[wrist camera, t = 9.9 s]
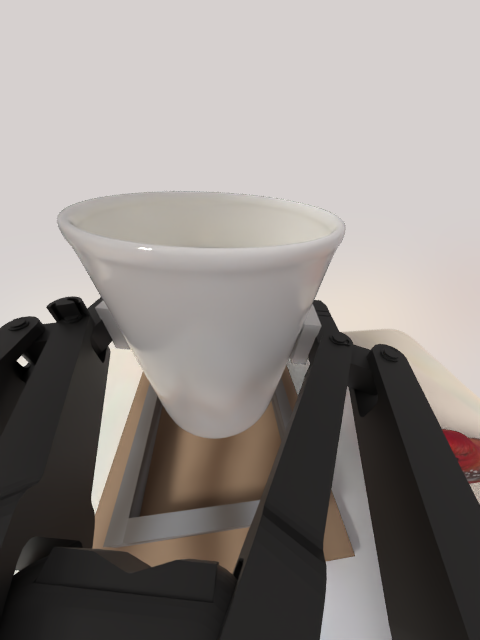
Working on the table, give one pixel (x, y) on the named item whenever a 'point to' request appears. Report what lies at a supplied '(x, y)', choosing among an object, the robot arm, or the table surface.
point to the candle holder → (206, 292)
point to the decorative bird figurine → (465, 454)
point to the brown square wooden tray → (194, 486)
